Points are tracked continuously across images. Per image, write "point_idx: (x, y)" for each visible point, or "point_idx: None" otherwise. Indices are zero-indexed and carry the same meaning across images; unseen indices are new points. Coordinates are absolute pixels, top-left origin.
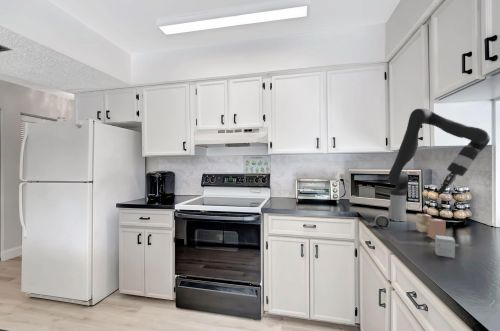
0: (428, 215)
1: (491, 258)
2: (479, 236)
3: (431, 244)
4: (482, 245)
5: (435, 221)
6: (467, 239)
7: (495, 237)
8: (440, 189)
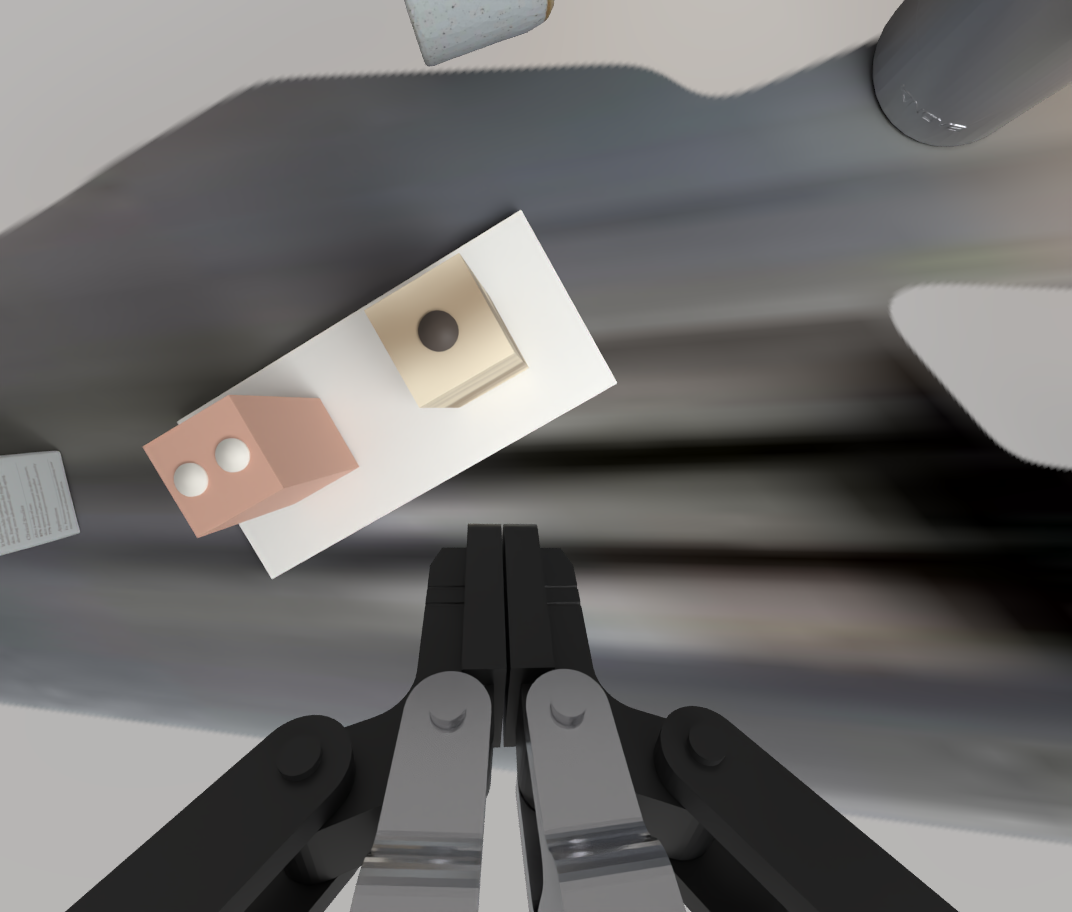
0: (435, 378)
1: (149, 707)
2: None
3: None
4: None
5: (152, 456)
6: None
7: None
8: (428, 593)
